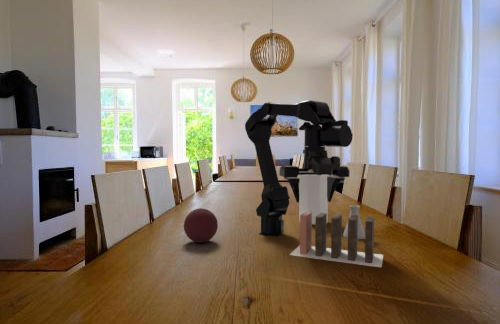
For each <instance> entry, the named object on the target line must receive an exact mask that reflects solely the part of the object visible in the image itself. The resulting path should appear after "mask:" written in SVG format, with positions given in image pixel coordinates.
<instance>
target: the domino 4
mask: <svg viewBox="0 0 500 324" xmlns="http://www.w3.org/2000/svg"><path fill="white" fill-rule="evenodd" d="M349 216H350V215H349ZM347 223H348V238H347V250H348V260H351V261H355V258H356V256H357V252H358V239H357V236H358V216H356V215H351V216H350V218H348V219H347Z"/></svg>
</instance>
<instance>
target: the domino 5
mask: <svg viewBox="0 0 500 324" xmlns="http://www.w3.org/2000/svg"><path fill="white" fill-rule="evenodd" d="M364 232H365V239H364V253H365V262H366V263H372V261H373V257H374V254H375V253H374V252H375V249H374V248H375V216H367V217H366V219H365V228H364Z"/></svg>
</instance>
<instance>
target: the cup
mask: <svg viewBox="0 0 500 324" xmlns="http://www.w3.org/2000/svg"><path fill="white" fill-rule="evenodd" d="M327 176H329V175H299V179H300V181H299V203H298V205H299V209H298V211H299V212H298V217H299V219H298V221H299V223H300V215H302V214H303V213H305V212H312V226H315V221H316V216H317V215H318V214H320V213H327V219H326V225H327V224H328V220H329V219H328V215H329V214H328V210H329V209H328V208H329V202H328V200H327Z"/></svg>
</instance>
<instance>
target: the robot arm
mask: <svg viewBox="0 0 500 324" xmlns="http://www.w3.org/2000/svg"><path fill="white" fill-rule="evenodd" d="M267 116H268V117H267ZM278 116H283V117H295V118H297V119H299V120H302V121H304V122H303V124H301V125H300V127H298V130H299V131H304V144H303V145H304V146H303V147H304V149H303V151H302V154H303V159H304V160H303V163H302V168H301V167H300V168H299V166H295V165H281V166H280V167H279V176H281V177H283V179H285V180H287V181H288V183H289V185H290V189H292V193H293V196H294V199H295V202H296V203H298V204H299V188H300V177H299V178H298V176H300V175H328V176H327V200H328V203H331V201H332V198H333V196H334V193H335V191H336V189H337V187H338V185H339V184H340V183H341V182H342V181H344V180H346V178H349V177H350V173H351V172H350V168H348V166H342V165H341V157H340V156H337V155H336V156H335V155H334V156H331V157H329V156H328V150H326V147H331V148H333V147H334V148H335V147H336V148H347V147H349V146H350V145H351V144H352V141H353V135H354V134H353V132H352V129H351V127H350V126H349V125H348V124H349V122H348V120H344V119H341V120H336V118H335V117H334V115H333V114H332V112H331V110H330V107H329V105H328V103H327V102H324V101H317V100H312V99H311V100H310V99H308V100H304V101H299V102H298V103H276V102H270V101H268V102H264V103H263V104H262V106H261V107H260V108H259V109H257V110H256V111H254V112H253V113H251V114H250V116H249V117H248V119H246V121H245V124H244V129H245V132H246V135H247V137H248V139H249V140H250V141H251V142H252V143H253V145H254V147H255V153H256V158H257V161H258V166H259V171H260V176H261V179H262V183H263V189H262V192H261V195H260V196H261V202H260V204H259V205H258V206H257V207H256V208H255V212H256V216H257V217H260V232H259V233H258V235H260V236H269V237H279V236H281V235H283V234H284V232H285V231H284V228H285V227H284V225H285V221H284V219H283V216H286V214H287V211H288V207H289V206H290V199H291V198H290V195H289V190H288V187H287V186H286V185H285V186H283V185H282V184H281V183H280V181H279V178H278V173H277V172H278V171H277V168H276V165H275V160H274V157H273V152H272V147H271V143H270V140H271V136H272V128H273V127H274V125H275V124H276V120H277V117H278ZM266 117H267V118H266Z"/></svg>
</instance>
